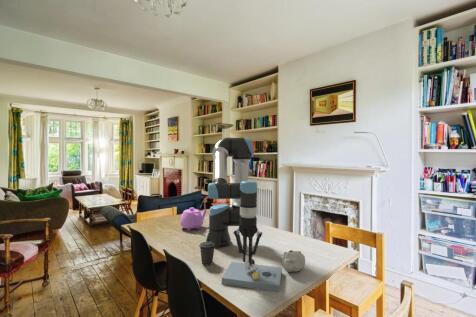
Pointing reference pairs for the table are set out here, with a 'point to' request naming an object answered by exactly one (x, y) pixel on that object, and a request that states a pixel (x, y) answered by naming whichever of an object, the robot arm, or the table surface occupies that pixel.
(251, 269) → the steel ball
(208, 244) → the coffee cup
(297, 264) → the candle
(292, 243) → the table surface
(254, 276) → the mustard ball
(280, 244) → the table surface
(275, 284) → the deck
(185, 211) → the teapot
